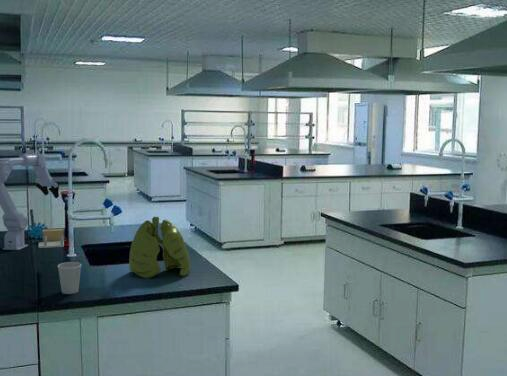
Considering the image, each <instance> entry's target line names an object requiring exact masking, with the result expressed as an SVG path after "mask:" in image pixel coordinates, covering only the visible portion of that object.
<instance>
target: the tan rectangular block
mask: <svg viewBox="0 0 507 376" xmlns="http://www.w3.org/2000/svg"><path fill="white" fill-rule="evenodd" d="M64 230H65V229H64V228H56V229H55V228H54V229H52V228H51V229H44V230H43V234H42V242H44V236H47V242H53V241H61V235H63V241H65V237H64V235H65V234H64V233H65V231H64Z"/></svg>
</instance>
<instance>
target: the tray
mask: <svg viewBox="0 0 507 376" xmlns="http://www.w3.org/2000/svg"><path fill="white" fill-rule="evenodd" d="M64 241H65V240H64ZM64 241H63V235H61V241H53V242H47V236H44V242H43V241H39V242H38V248H37V249H49V248H51V249H52V248H65V247H64Z"/></svg>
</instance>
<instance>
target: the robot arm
mask: <svg viewBox="0 0 507 376" xmlns="http://www.w3.org/2000/svg"><path fill="white" fill-rule="evenodd" d="M18 165H20V166H21V167H31V166H32V168H33V170H34V173H35V175H36V177H37V178H36V179H34V181H35V184H36V186H35V187H36V188H37V189H39V190H40V191H41V192H42V193H43V195H44V196H48V195H49V194H50V192H51V194H52V195H53V197H54V198H55V199H58V198H59V196H60V195H59V193H60V191H59V188H60V184H59V183H57V182H55V181H54V180H53V179H54V177H51V175H50V173H49V171H48V168H47V164H46V157H45V156H44V155H43V154H42V153H34V152H31V153H27V152H25V153H22V154H20V155H19V156H18V157H9V158H8V157H5V158H0V207H1V209H2V212H3V214H2V216H1V219H2V220H3V225H4V227H5V229H6V230H7V232H6V233H5V234H4V237H3V239H4V241H3V242H4V245H3V246H4V247H3V248H2V250H5V251H7V250H8V251H20V250H22V249H24V248H26V247H28V246H29V244H25V230H26V228H27V226H28V224H29V220H28V217H26V216H25V215H24V214H23V212H22V211H19V210H18V209H17V207H16V206H15V203H14V202H13V199H12V198H11V195H10V193H9V191H8V189H7V187H6V185H5V182H6V181H7V180H8V178H9V175H10V174H11V172H12V170H13V169H14V168H13V166H18ZM48 187H50V188H48Z"/></svg>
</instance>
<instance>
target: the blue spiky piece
mask: <svg viewBox="0 0 507 376" xmlns="http://www.w3.org/2000/svg"><path fill="white" fill-rule="evenodd" d="M43 230H48V226H46V225H45V223H42V224H41V222H38V223H36V222H34V223H33V225H32V224H30V225H29V227H28V228H27V231H28V232H27V234H28V236H30V238H31V239H33V238H34V239H35V240H38V239H43Z"/></svg>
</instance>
